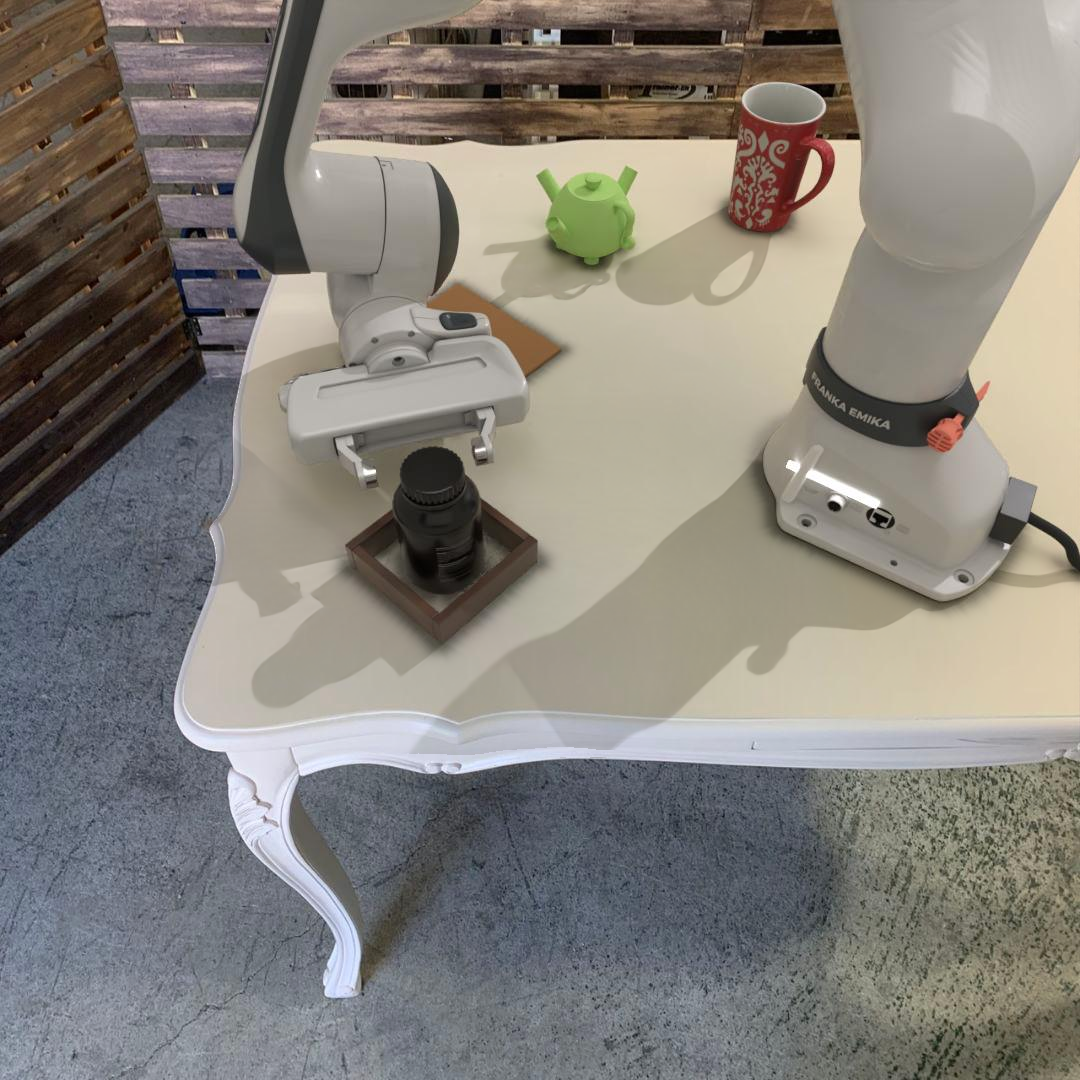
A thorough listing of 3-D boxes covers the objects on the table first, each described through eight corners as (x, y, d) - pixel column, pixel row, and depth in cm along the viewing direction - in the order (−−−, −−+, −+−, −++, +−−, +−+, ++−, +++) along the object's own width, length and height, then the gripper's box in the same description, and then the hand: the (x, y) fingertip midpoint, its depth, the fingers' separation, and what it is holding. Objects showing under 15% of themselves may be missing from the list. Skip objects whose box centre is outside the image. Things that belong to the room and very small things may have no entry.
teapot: (644, 274, 99) (653, 205, 92) (540, 277, 99) (542, 208, 92) (631, 215, 106) (639, 147, 99) (534, 217, 105) (535, 148, 98)
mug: (703, 206, 107) (724, 94, 96) (760, 184, 110) (787, 73, 99) (774, 262, 101) (805, 149, 90) (833, 237, 104) (869, 124, 93)
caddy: (537, 561, 76) (538, 540, 73) (442, 645, 71) (439, 625, 68) (446, 491, 80) (444, 469, 78) (350, 565, 75) (344, 544, 73)
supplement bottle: (490, 535, 77) (485, 439, 68) (479, 601, 73) (472, 509, 64) (411, 527, 78) (395, 431, 68) (396, 593, 74) (377, 501, 64)
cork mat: (561, 351, 91) (561, 348, 91) (455, 428, 85) (455, 425, 84) (458, 286, 97) (458, 283, 97) (351, 354, 91) (351, 351, 90)
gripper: (267, 352, 75) (288, 472, 67) (503, 310, 79) (549, 419, 71) (283, 406, 80) (304, 524, 72) (504, 364, 84) (547, 472, 76)
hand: (427, 472), depth 72 cm, fingers open, 8 cm apart
